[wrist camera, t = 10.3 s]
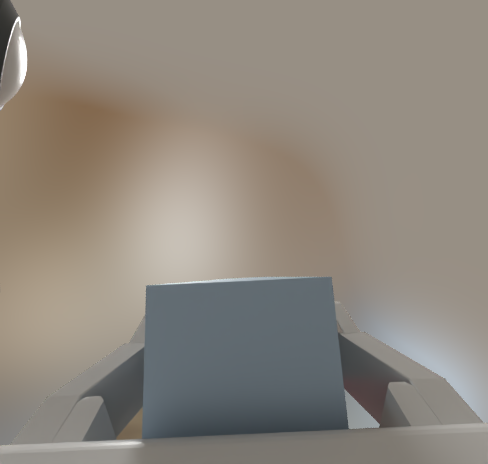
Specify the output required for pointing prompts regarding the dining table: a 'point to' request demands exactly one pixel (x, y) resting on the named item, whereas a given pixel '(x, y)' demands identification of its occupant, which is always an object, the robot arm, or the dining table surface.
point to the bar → (242, 358)
